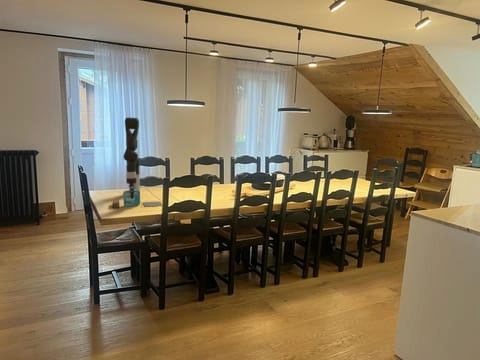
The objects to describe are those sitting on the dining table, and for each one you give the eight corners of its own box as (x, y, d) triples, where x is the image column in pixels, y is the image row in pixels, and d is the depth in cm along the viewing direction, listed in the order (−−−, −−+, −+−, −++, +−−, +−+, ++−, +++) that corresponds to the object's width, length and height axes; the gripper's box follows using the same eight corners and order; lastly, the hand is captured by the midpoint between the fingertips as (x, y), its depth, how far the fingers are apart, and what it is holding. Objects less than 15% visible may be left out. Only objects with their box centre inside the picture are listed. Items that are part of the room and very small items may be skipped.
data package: (125, 206, 286) (124, 191, 284) (123, 205, 290) (123, 190, 288) (140, 205, 293) (140, 190, 291) (138, 203, 296) (138, 189, 294)
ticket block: (112, 204, 292) (112, 199, 292) (119, 204, 294) (119, 199, 293) (112, 208, 281) (112, 203, 280) (119, 207, 283) (119, 202, 282)
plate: (140, 202, 300) (140, 202, 300) (160, 201, 305) (160, 201, 305) (141, 207, 287) (141, 206, 287) (162, 205, 292) (162, 205, 292)
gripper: (126, 175, 293) (126, 195, 295) (126, 178, 279) (127, 199, 282) (135, 175, 295) (136, 195, 298) (136, 178, 282) (137, 199, 284)
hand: (131, 197), depth 290 cm, fingers open, 8 cm apart
